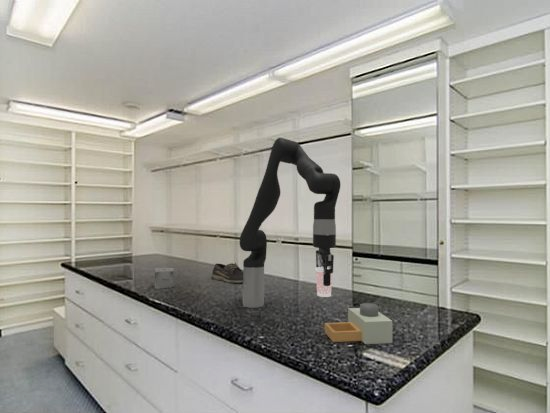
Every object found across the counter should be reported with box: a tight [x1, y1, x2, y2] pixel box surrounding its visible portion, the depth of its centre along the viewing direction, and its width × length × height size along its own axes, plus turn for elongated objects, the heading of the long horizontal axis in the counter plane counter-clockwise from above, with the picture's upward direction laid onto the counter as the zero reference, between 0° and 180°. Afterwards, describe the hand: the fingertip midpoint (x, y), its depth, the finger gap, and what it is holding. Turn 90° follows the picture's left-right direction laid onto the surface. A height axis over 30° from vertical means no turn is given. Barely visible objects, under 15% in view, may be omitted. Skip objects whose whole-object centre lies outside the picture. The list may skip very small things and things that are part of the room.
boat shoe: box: [211, 262, 243, 284], centre depth 213 cm, size 11×29×11 cm, turn 58°
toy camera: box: [324, 302, 393, 345], centre depth 121 cm, size 19×16×10 cm
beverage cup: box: [314, 266, 333, 298], centre depth 119 cm, size 6×6×14 cm
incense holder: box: [154, 266, 175, 290], centre depth 193 cm, size 10×8×10 cm
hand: (324, 283), depth 119 cm, fingers closed on beverage cup, 6 cm apart
